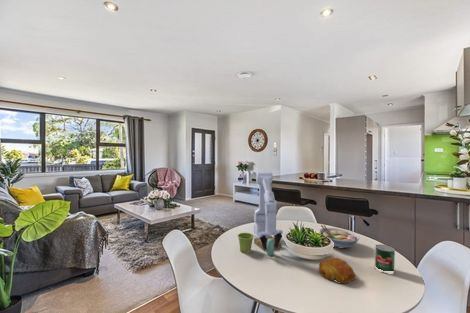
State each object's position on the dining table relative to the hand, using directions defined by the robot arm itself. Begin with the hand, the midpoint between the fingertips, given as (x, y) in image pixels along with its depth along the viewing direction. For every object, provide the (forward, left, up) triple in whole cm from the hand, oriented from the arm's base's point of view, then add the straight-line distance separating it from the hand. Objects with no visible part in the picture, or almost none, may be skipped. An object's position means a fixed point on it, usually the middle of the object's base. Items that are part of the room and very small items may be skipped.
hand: (270, 248), depth 125 cm
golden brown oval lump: (+30, +17, -4) cm, 35 cm away
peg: (0, 0, -3) cm, 3 cm away
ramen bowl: (+5, +46, -4) cm, 46 cm away
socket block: (-11, +5, -3) cm, 13 cm away
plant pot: (-9, -11, -4) cm, 15 cm away
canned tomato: (+35, +43, -4) cm, 56 cm away
